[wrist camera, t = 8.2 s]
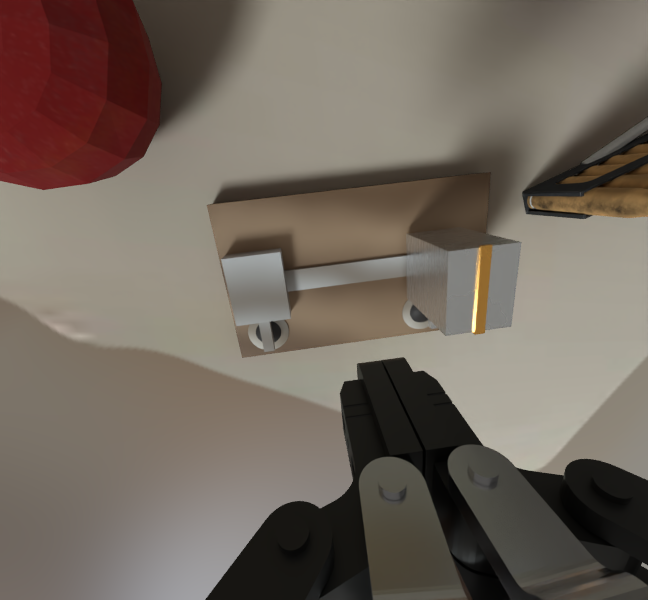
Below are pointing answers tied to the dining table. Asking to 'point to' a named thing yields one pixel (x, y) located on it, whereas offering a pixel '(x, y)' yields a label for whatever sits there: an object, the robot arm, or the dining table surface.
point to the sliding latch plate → (334, 259)
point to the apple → (74, 91)
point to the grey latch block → (462, 279)
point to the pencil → (619, 141)
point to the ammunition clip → (597, 187)
